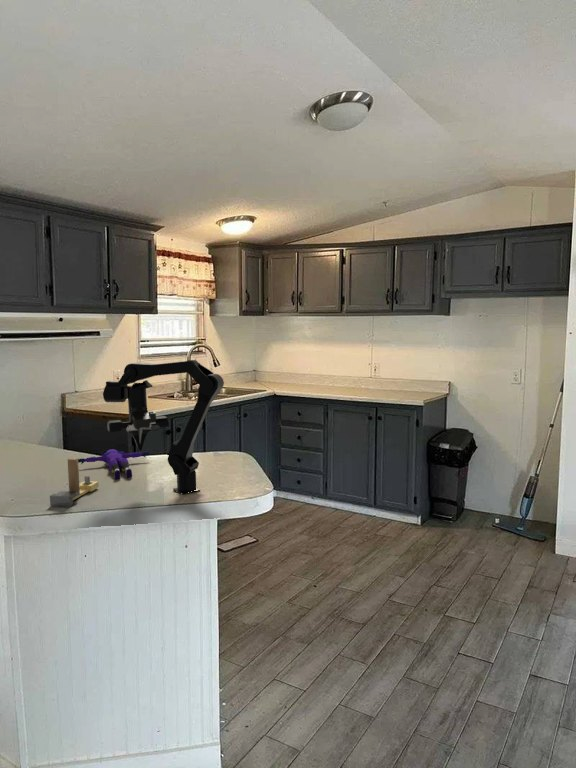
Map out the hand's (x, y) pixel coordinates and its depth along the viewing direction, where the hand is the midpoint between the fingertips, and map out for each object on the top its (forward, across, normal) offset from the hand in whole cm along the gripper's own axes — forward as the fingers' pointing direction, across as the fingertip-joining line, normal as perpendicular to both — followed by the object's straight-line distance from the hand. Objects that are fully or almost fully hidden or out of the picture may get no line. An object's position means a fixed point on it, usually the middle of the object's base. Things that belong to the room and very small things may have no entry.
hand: (140, 450), depth 179 cm
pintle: (+12, -16, +6) cm, 21 cm away
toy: (+13, -4, +30) cm, 33 cm away
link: (+12, -19, +1) cm, 23 cm away
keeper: (+12, -23, -5) cm, 27 cm away
